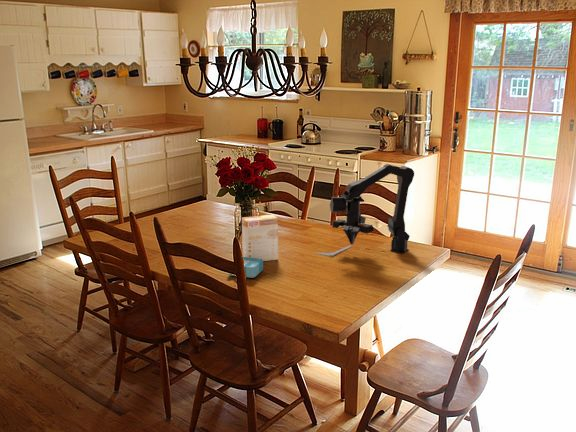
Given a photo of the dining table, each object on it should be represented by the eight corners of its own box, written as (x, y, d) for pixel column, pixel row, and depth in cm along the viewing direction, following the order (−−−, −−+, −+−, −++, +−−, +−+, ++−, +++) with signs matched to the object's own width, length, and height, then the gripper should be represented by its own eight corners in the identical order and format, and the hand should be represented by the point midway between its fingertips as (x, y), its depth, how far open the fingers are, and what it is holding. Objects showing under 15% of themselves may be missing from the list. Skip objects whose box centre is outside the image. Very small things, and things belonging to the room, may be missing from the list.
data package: (253, 267, 216) (226, 264, 219) (254, 278, 217) (226, 275, 220) (264, 258, 227) (237, 256, 230) (264, 268, 228) (238, 266, 231)
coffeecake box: (273, 255, 246) (273, 214, 242) (278, 259, 240) (278, 217, 235) (242, 258, 241) (241, 216, 236) (246, 263, 234) (245, 220, 230)
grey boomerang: (351, 248, 257) (352, 246, 257) (331, 257, 243) (331, 255, 243) (326, 242, 266) (326, 241, 266) (305, 251, 252) (305, 249, 252)
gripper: (379, 210, 243) (378, 243, 247) (344, 205, 254) (343, 237, 258) (367, 215, 235) (366, 249, 238) (331, 209, 246) (331, 242, 249)
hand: (352, 244), depth 246 cm, fingers closed
